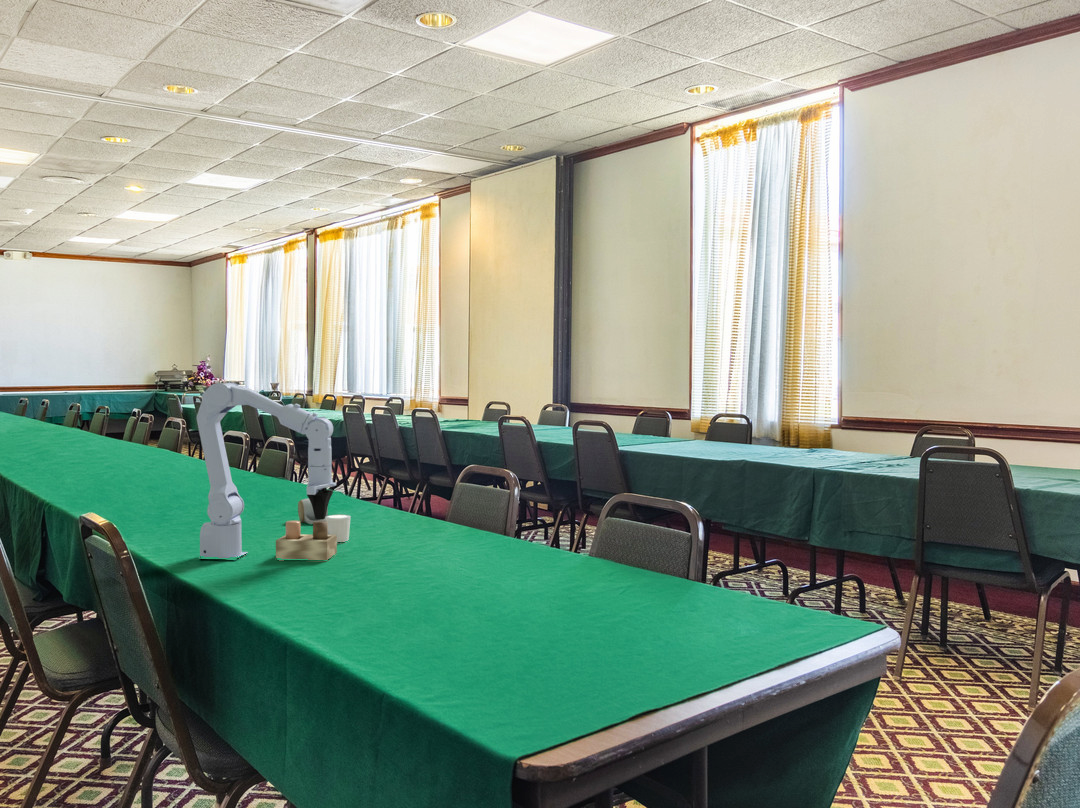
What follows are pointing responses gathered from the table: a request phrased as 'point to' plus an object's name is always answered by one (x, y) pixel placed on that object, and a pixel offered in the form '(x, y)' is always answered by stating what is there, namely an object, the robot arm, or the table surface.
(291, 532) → the terracotta peg
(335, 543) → the maple block
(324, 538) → the walnut peg
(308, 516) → the ceramic mug
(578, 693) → the table surface
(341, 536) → the white cup
